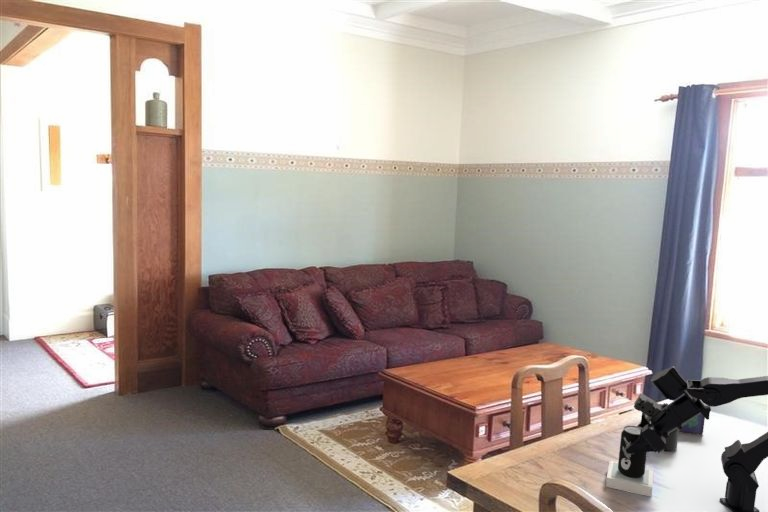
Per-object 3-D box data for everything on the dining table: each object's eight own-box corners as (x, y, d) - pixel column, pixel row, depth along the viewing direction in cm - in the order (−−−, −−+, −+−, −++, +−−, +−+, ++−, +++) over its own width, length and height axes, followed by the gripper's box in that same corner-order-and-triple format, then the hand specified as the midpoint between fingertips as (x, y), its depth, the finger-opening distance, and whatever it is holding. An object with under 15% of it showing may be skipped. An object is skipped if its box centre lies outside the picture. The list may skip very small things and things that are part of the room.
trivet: (652, 478, 171) (653, 469, 171) (651, 496, 161) (652, 487, 160) (609, 469, 175) (609, 460, 175) (605, 486, 165) (606, 476, 165)
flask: (672, 431, 204) (676, 399, 203) (670, 428, 207) (674, 396, 205) (703, 436, 202) (707, 403, 200) (701, 432, 205) (705, 400, 203)
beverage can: (646, 480, 164) (651, 436, 162) (619, 477, 165) (623, 432, 163) (641, 469, 170) (646, 426, 168) (616, 465, 171) (620, 423, 170)
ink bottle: (650, 437, 199) (654, 400, 197) (680, 445, 193) (685, 407, 192) (640, 446, 191) (644, 408, 190) (671, 455, 186) (675, 416, 184)
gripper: (656, 377, 171) (609, 408, 177) (655, 398, 154) (603, 432, 160) (685, 410, 169) (636, 441, 175) (687, 436, 152) (634, 469, 158)
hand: (627, 445), depth 167 cm, fingers open, 9 cm apart
